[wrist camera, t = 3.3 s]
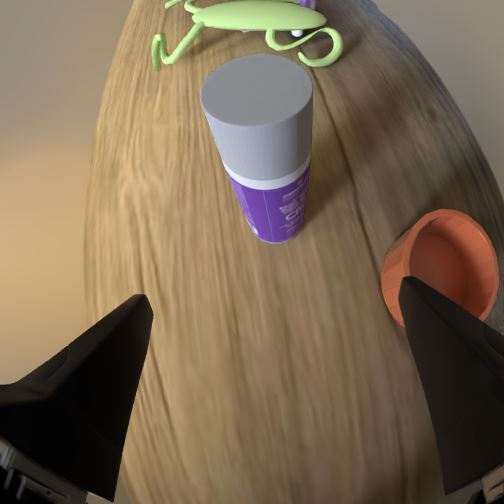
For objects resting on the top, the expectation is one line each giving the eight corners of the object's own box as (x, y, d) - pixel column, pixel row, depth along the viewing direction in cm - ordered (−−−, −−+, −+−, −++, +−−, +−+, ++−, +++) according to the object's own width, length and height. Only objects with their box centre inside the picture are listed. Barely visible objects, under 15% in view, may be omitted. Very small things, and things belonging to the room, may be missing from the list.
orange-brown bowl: (439, 352, 20) (470, 357, 15) (360, 296, 22) (379, 289, 17) (479, 265, 21) (510, 253, 16) (409, 210, 23) (431, 186, 18)
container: (295, 251, 23) (302, 141, 9) (241, 236, 24) (177, 122, 10) (309, 199, 24) (325, 60, 10) (257, 186, 25) (221, 48, 11)
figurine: (181, 11, 36) (172, -12, 30) (339, 10, 31) (341, -18, 26) (137, 75, 32) (120, 48, 26) (342, 75, 27) (347, 39, 22)
